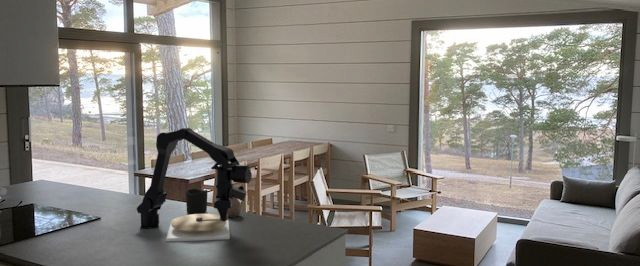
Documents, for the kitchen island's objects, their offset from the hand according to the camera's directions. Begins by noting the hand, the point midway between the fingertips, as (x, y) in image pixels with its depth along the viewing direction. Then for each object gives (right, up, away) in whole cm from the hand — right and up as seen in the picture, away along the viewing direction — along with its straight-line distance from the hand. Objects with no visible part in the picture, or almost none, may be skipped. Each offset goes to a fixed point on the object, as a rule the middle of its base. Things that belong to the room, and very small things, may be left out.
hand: (224, 221), depth 201 cm
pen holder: (-18, -2, +33) cm, 38 cm away
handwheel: (-10, -3, +4) cm, 12 cm away
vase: (-1, -3, +29) cm, 29 cm away
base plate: (-11, -5, +4) cm, 13 cm away
